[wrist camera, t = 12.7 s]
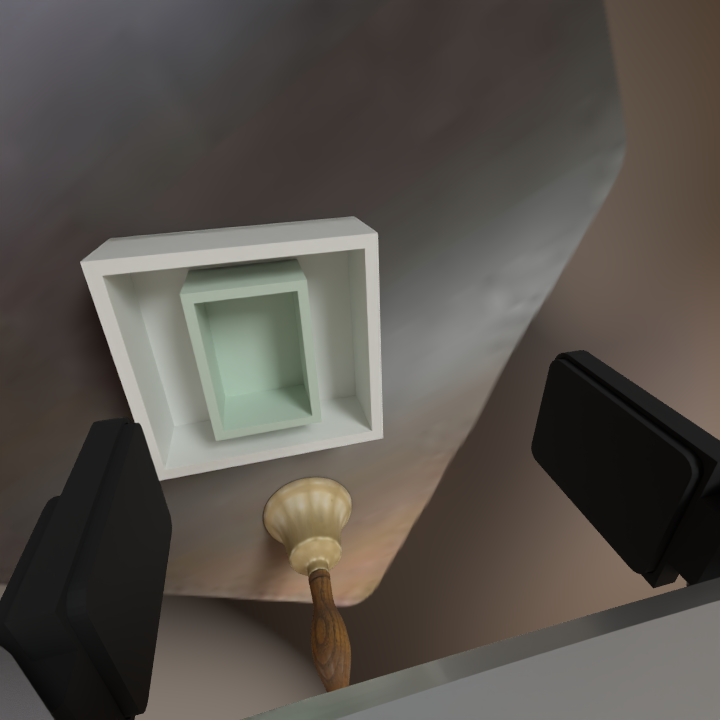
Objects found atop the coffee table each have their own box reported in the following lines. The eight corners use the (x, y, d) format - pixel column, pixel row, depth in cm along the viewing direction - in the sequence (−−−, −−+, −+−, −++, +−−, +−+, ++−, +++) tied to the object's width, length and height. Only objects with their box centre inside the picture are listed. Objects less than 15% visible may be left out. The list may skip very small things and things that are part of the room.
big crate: (110, 238, 27) (79, 262, 22) (354, 216, 30) (377, 232, 25) (167, 429, 34) (155, 481, 29) (362, 395, 37) (383, 438, 32)
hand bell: (253, 540, 42) (260, 742, 28) (276, 471, 39) (297, 658, 25) (335, 545, 44) (379, 730, 31) (362, 481, 41) (424, 653, 28)
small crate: (188, 270, 28) (179, 294, 24) (296, 258, 30) (306, 279, 25) (218, 401, 33) (215, 441, 29) (311, 385, 34) (321, 422, 30)
